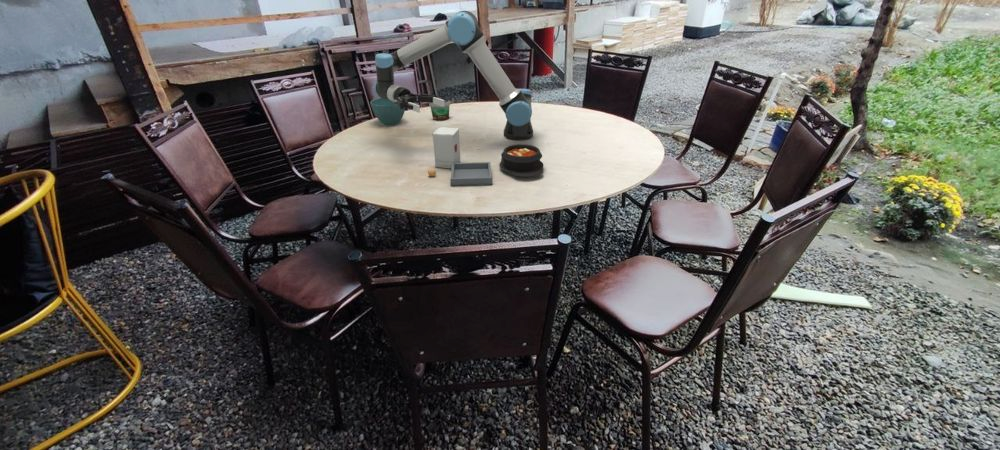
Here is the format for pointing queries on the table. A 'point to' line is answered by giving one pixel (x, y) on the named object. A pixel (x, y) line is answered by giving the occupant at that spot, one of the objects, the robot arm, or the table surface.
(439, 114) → the food container
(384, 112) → the plant pot
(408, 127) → the table surface
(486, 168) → the tray
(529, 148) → the casserole
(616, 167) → the table surface
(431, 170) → the ball
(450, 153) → the supplement box
